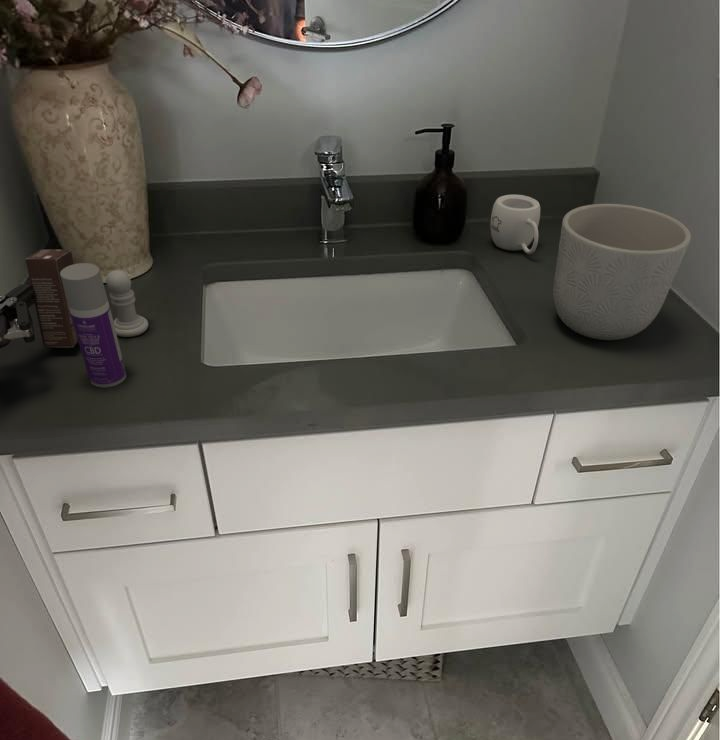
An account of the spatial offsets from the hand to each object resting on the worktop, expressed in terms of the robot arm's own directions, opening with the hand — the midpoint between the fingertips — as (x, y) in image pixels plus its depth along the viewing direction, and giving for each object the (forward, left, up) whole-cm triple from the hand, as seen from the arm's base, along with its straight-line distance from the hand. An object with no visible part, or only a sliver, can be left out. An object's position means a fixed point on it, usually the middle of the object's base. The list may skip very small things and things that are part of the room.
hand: (29, 291), depth 91 cm
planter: (+74, +31, -9) cm, 81 cm away
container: (+11, -4, -9) cm, 15 cm away
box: (+2, +2, -8) cm, 9 cm away
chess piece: (+8, +9, -9) cm, 15 cm away
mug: (+59, +55, -9) cm, 81 cm away
